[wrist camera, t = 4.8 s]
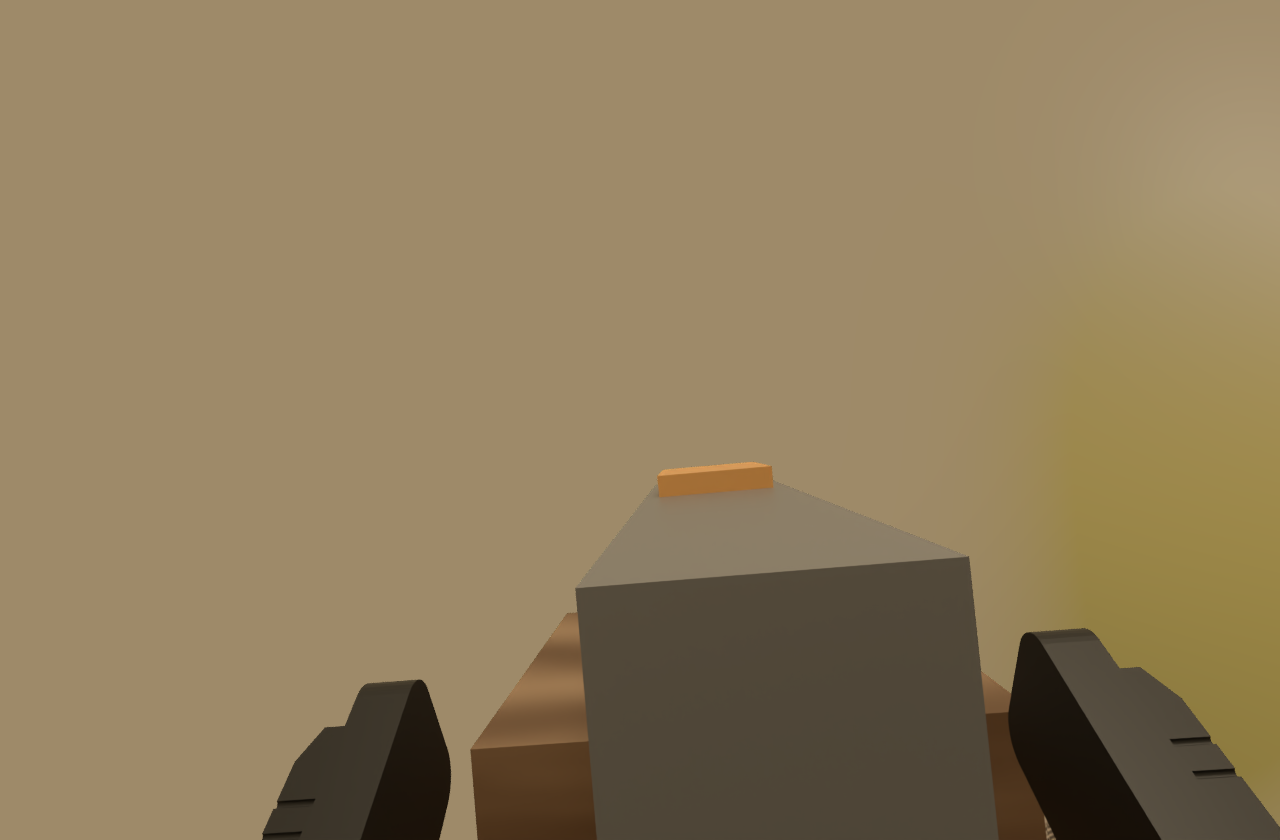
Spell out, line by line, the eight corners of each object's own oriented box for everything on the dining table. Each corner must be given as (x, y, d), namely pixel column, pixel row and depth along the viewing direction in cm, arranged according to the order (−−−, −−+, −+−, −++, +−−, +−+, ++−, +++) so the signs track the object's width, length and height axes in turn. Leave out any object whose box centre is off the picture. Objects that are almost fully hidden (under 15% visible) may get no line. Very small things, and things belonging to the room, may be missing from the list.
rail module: (1011, 961, 8) (963, 497, 8) (609, 983, 8) (570, 529, 8) (770, 581, 30) (759, 459, 30) (665, 589, 30) (654, 469, 30)
